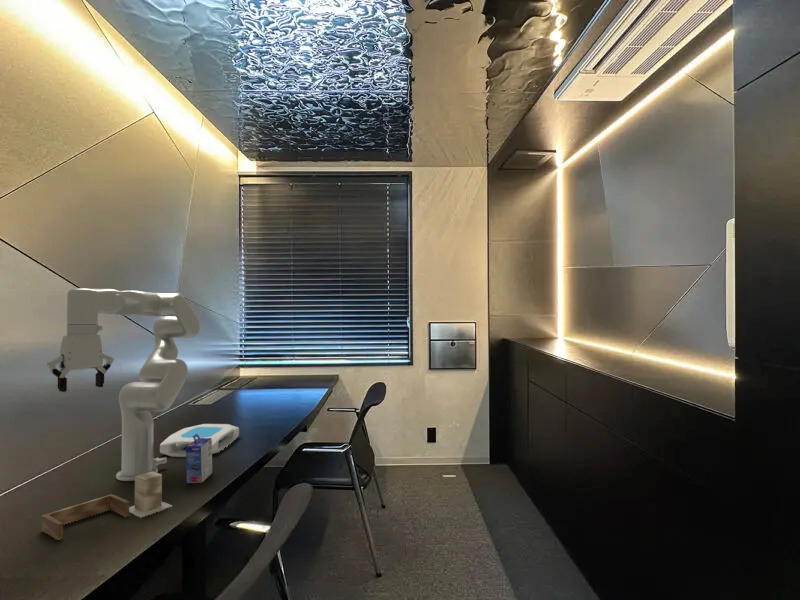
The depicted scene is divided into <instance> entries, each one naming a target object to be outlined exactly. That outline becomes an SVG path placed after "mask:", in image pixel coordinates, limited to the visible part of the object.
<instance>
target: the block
mask: <svg viewBox="0 0 800 600" xmlns="http://www.w3.org/2000/svg"><path fill="white" fill-rule="evenodd" d="M162 483H163V475H162V474H161V473H159V472H158V473H156V472H153V471H152V472H148V473H145V474H141V475H138V476H135V481H134V505H135V509H137V510H140V511H142V512H147V511H150V510H152V509H155V508H158V507H161V506H162V502H163V501H162V500H163V499H162V498H163V495H162V494H163V492H162V491H163V488H162V487H163V484H162Z"/></svg>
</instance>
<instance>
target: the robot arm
mask: <svg viewBox="0 0 800 600" xmlns="http://www.w3.org/2000/svg"><path fill="white" fill-rule="evenodd" d="M66 297H67V298H66V300H67V301H66V304H67V305H66V310H67V311H66V335H63V336H62V339H61V344H60V350H59V356H58V357H56V358H54V359H53V360H51V361H48V362H46V366H47V367H48V369H49V371H50V373H51V374H53V376H55V377H56V378H57V389H58V391H59V392H62V393H66V392H67V391H68V388H67V387H68V386H67V385H68V378H67V377H66V376H67V374H68V373H69V372H70V371H79V370H90V369H91V370H92V369H94V370H95V371H96V373H95V387H97V388H104V384H105V374H106V373H107V371H108V370H109V369H110V368H111V366H112V364H113V362H114V360H115V358H114V357H112V356H109V355H107V354H106V353H105V354H104V353H103V346H102V344H103V343H102V340H101V335H100V334H98V333H99V331H100V332H101V331H103V326H102V325H99V324H98V323H99V321H98V320H99V319H98V318H99V316H98V315H99V314H105V315H118V316H127V317H128V316H132V317H135V316H136V317H137V316H138V317H157V318H155V320H154V322H153V325H152V329H153V336H154V342H155V343H154V348H153V349H152V351H151V353H150V354H149V356H148V357H147V359H146V361H145V362H144V363H143V365H142V367H141V368H140V369H139V372H138V373H139V374H138V376H139V381H132V382H129V383H126V384H125V385H123V386H122V388H121V389H120V391H119V394H118V402H119V403H118V404H119V409H120V414H121V468H120V469H121V470H119V471H118V472H117V473H116V474H115V478H116V480H118V481H122V482H133V481H134V482H135V476H138V475H141V474H145V473H148V472H152V471H153V472H156V473H159V468H158V466H159V465H162V464H163V465H164V464H166V463H167V462H168V459H167V457H166V456H165V457H161V458H159V457H157V458H154V427H155V423H154V417H153V415H152V414H151V412H163V411H167V410H168V409H169V408H170V407H171V406H172V405H173V404H174V402H175V401H176V398H177V397H178V395H179V393H180V391H181V390H182V388H183V386H184V384H185V382H186V380H187V377H188V372H189V371H188V364H187V363H186V362H185V361H184V360H183V359H181V358H177V357H178V355H179V349H178V346H177V345H176V342H175V340H174V339H175V338H176V339H177V338H179V339H181V338H184V339H188V338H189V339H191V338H194V337H196V336H197V335H198V334H199V332H200V329H201V325H200V320H199V319H198V316H197V315H196V313H195V311H194V310H193V308H192V307H191V304H190V303H189V302H188V300H187V299H186V298H185V297H184V296H183V295H182V294H180V293H177V292H175V293H173V292H172V293H170V292H168V293H167V292H165V293H163V292H162V293H161V292H149V291H148V292H147V291H142V290H141V291H140V290H117V289H113V288H83V287H82V288H76V287H75V288H70V289H69V290H68V291H67V295H66ZM104 360H105V363H104V364H103V362H104ZM57 365H58V367H59V369H57V367H56V366H57Z"/></svg>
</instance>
